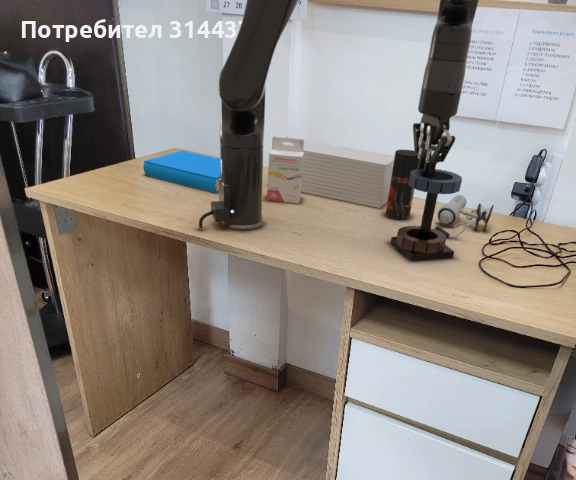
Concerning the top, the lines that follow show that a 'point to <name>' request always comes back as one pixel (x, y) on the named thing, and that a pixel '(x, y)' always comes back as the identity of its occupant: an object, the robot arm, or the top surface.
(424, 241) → the walnut ring
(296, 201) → the ink cartridge box
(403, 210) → the deodorant
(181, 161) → the book
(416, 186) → the slate ring
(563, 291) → the top surface
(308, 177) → the light grey ridged block
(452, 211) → the clip-on lamp
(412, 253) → the stand
